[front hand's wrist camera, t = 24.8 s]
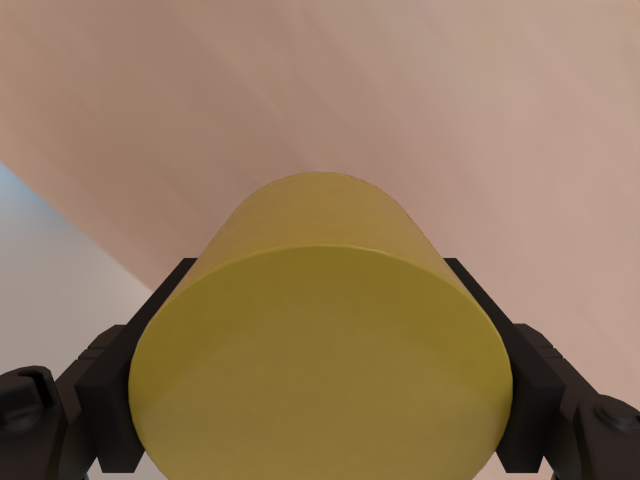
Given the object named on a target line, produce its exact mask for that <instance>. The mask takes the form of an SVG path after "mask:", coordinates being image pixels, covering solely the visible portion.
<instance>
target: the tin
mask: <svg viewBox="0 0 640 480" xmlns="http://www.w3.org/2000/svg"><path fill="white" fill-rule="evenodd" d="M128 399H129V407H130V412H131V417H132V422H133V425H134V427H135V430H136V432H137V435H138V438H139V440H140V442H141V444H142V445H143V447H144V449H145V451H146V452H147V454H148V456H149V457H150V458H151V460H152V461H153V462H154V464H155V465H156V466H157V468H158V469H159V470H160V471H161V472H162V473H163V474H164V475H165V476H166V477H167V478H168V479H169V480H472V479H473V478H474V477H475V476H476V475H477V474H478V473H479V472H480V470H481V469H482V468H483V467H484V466H485V465H486V463H487V462H488V460H489V459H490V458H491V456H492V455H493V453H494V452H495V450H496V448H497V447H498V445H499V443H500V441H501V439H502V437H503V435H504V432H505V429H506V426H507V423H508V420H509V417H510V412H511V406H512V400H513V377H512V372H511V366H510V361H509V356H508V354H507V351H506V348H505V346H504V343H503V341H502V338H501V336H500V334H499V333H498V331H497V329H496V328H495V326H494V324H493V323H492V321H491V319H490V318H489V316H488V315H487V314H486V312H485V311H484V310H483V309H482V307H481V306H480V305H479V304H478V302H477V301H476V300H475V299H474V297H473V296H472V295H471V293H470V292H469V291H468V290H467V288H466V287H465V286H464V285H463V283H462V282H461V281H460V279H459V278H458V277H457V276H456V274H455V273H454V272H453V271H452V269H451V268H450V267H449V266H448V264H447V263H446V262H445V260H444V259H443V258H442V257H441V255H440V254H439V253H438V252H437V250H436V249H435V248H434V246H433V245H432V244H431V243H430V241H429V240H428V239H427V238H426V236H425V235H424V234H423V232H422V231H421V230H420V229H419V227H418V226H417V225H416V224H415V222H414V221H413V220H412V219H411V217H410V216H409V215H408V214H407V212H406V211H405V210H404V209H403V208H402V206H401V205H400V204H399V203H398V202H396V201H395V200H394V199H393V198H392V197H391V196H390V195H388V194H387V193H385V192H384V191H382V190H381V189H379V188H378V187H376V186H374V185H372V184H370V183H368V182H366V181H364V180H361V179H358V178H355V177H352V176H348V175H343V174H337V173H327V172H313V173H302V174H297V175H293V176H288V177H285V178H282V179H280V180H277V181H274V182H272V183H270V184H268V185H266V186H264V187H262V188H260V189H259V190H258V191H256V192H255V193H253V194H252V195H251V196H249V197H248V198H247V199H246V200H245V201H244V202H243V203H242V204H240V205H239V206H238V208H237V209H236V210H235V211H234V213H233V214H232V215H231V216H230V218H229V219H228V220H227V221H226V223H225V224H224V225H223V227H222V228H221V229H220V231H219V232H218V233H217V234H216V236H215V237H214V238H213V240H212V241H211V242H210V244H209V245H208V246H207V247H206V249H205V250H204V251H203V253H202V254H201V255H200V257H199V258H198V259H197V260H196V262H195V263H194V264H193V266H192V267H191V268H190V270H189V271H188V272H187V273H186V275H185V276H184V277H183V279H182V280H181V281H180V282H179V284H178V285H177V286H176V288H175V289H174V290H173V292H172V293H171V294H170V295H169V297H168V298H167V299H166V301H165V302H164V303H163V305H162V306H161V307H160V308H159V310H158V311H157V312H156V314H155V315H154V316H153V318H152V319H151V320H150V321H149V323H148V325H147V327H146V328H145V330H144V332H143V334H142V336H141V337H140V339H139V341H138V344H137V347H136V349H135V352H134V355H133V358H132V361H131V367H130V374H129V380H128Z"/></svg>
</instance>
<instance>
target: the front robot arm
mask: <svg viewBox="0 0 640 480" xmlns="http://www.w3.org/2000/svg"><path fill="white" fill-rule="evenodd" d="M197 259H198V258H184V259H183V260H182V261H181V262H180V263H179V265H178V266H177V267H176V268H175V269H174V270H173V271H172V273H171V274H170V275H169V276H168V277H167V278H166V279H165V281H164V282H163V283H162V284H161V285H160V286H159V288H158V289H157V290H156V291H155V292H154V293H153V294H152V296H151V297H150V298H149V299H148V300H147V301H146V303H145V304H144V305H143V306H142V307H141V308H140V309H139V311H138V312H137V313H136V314H135V315H134V316H133V318H132V319H131V320H130V321H129V322H128V323H127V324H126V325H114V326H112V327H111V328H109V329H108V330H106V331H104V332H103V333H101V334H100V335H98V336H97V338H96V339H95V340H94V341H93V342H92V343H91V344H90V345H89V346H88V348H87V349H85V350H84V351H83V352H82V353H81V354H80V355H79V357H78V360H75V361H74V362H73V363H72V364H71V365H70V366H69V367H68V368H67V369H66V370H65V371H64V372H63V373H62V374H61V376H60V377H59V378H58V379H57V380H56V381H55V382H54V380H53V377H52V374H51V371H50V370H49V369H47V368H46V367H44V366H28V367H22V368H18V369H15V370H12V371H9V372H6V373H4V374H2V375H0V480H89V478H88V475H87V471H88V470H89V468H90V467H91V465H92V464H93V462H94V460H95V459H96V457H97V458H98V461H99V464H100V467H101V470H102V472H103V473H134V471H135V469H136V467H137V465H138V463H139V461H140V459H141V458H142V456H143V453H144V452H145V449H144V447H143V445H142V444H141V442H140V440H139V438H138V435H137V432H136V430H135V427H134V425H133V422H132V417H131V412H130V407H129V399H128V380H129V374H130V367H131V361H132V358H133V355H134V352H135V349H136V347H137V344H138V341H139V339H140V337H141V336H142V334H143V332H144V330H145V328H146V327H147V325H148V323H149V321H150V320H151V319H152V318H153V316H154V315H155V314H156V312H157V311H158V310H159V308H160V307H161V306H162V305H163V303H164V302H165V301H166V299H167V298H168V297H169V295H170V294H171V293H172V292H173V290H174V289H175V288H176V286H177V285H178V284H179V282H180V281H181V280H182V279H183V277H184V276H185V275H186V273H187V272H188V271H189V270H190V268H191V267H192V266H193V264H194V263H195V262H196V260H197ZM443 259H444V260H445V262H446V263H447V264H448V266H449V267H450V268H451V269H452V271H453V272H454V273H455V274H456V276H457V277H458V278H459V279H460V281H461V282H462V283H463V285H464V286H465V287H466V288H467V290H468V291H469V292H470V293H471V295H472V296H473V297H474V299H475V300H476V301H477V302H478V304H479V305H480V306H481V307H482V309H483V310H484V311H485V312H486V314H487V315H488V316H489V318H490V319H491V321H492V323H493V324H494V326H495V328H496V329H497V331H498V333H499V334H500V336H501V338H502V341H503V343H504V346H505V348H506V351H507V354H508V356H509V361H510V366H511V372H512V377H513V400H512V406H511V412H510V417H509V420H508V423H507V426H506V429H505V432H504V435H503V437H502V439H501V441H500V443H499V445H498V447H497V448H496V450H495V451H496V453H497V455H498V457H499V459H500V461H501V463H502V465H503V467H504V469H505V471H506V473H538V471H539V468H540V465H541V462H542V459H543V456H544V457H545V458H546V460H547V461H548V463H549V464H550V466H551V468H552V469H553V471H554V472H553V475H552V478H551V480H640V412H639V411H638V410H637V409H635V408H633V407H632V406H630V405H628V404H627V403H625V402H623V401H621V400H618V399H615V398H613V397H610V396H607V395H601V394H599V393H598V392H597V391H596V390H595V389H594V388H593V387H592V386H591V385H590V384H589V383H588V382H587V381H586V380H585V379H584V378H583V377H582V376H581V375H580V374H579V373H578V371H577V370H576V369H575V368H574V367H573V366H572V365H571V364H570V363H569V362H568V361H567V360H566V359H565V358H563V356H562V355H561V354H560V353H559V352H558V351H557V349H556V348H553V345H552V344H551V343H550V342H549V341H548V340H547V339H546V338H545V337H544V336H543V335H542V334H541V333H539V332H538V331H536V330H535V329H533V328H531V327H530V326H528V325H527V324H513V323H512V322H511V321H510V320H509V318H508V317H507V316H506V315H505V314H504V313H503V312H502V310H501V309H500V308H499V307H498V306H497V305H496V303H495V302H494V301H493V300H492V299H491V298H490V297H489V295H488V294H487V293H486V292H485V291H484V290H483V289H482V287H481V286H480V285H479V284H478V283H477V282H476V280H475V279H474V278H473V277H472V276H471V275H470V274H469V272H468V271H467V270H466V269H465V268H464V267H463V265H462V264H461V263H460V262H459V261H458V260H457V259H456V258H443Z"/></svg>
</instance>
